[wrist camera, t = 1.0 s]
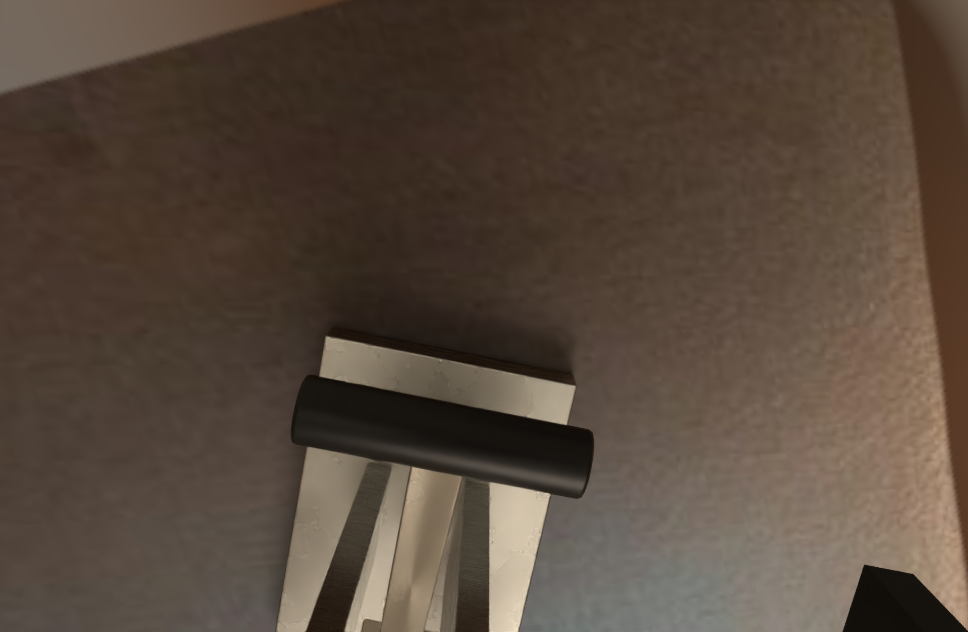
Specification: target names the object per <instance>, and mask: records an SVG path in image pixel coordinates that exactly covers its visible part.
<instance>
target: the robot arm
mask: <svg viewBox="0 0 968 632" xmlns="http://www.w3.org/2000/svg"><path fill="white" fill-rule="evenodd" d="M843 632H968V631H967V630H966V629H965V628H964V627H963V625H962V624H961V623H960V622H959V621H958V620H957V619H956V618H955V617H954V616H953V615H952V614H951V613H950V612H949V611H948V610H947V609H946V608H945V607H944V606H943V605H942V604H941V603H940V601H939V600H938V599H937V598H936V597H935V596H934V595H933V594H932V593H931V592H930V591H929V590H928V589H927V588H926V587H925V586H924V585H923V584H922V583H921V582H920V581H919V580H918V579H917V578H916V576H915V575H914V574H910V573H905V572H900V571H894V570H889V569H884V568H879V567H874V566H868V565H864V567H863V570H862V573H861V576H860V580H859V583H858V586H857V589H856V592H855V595H854V598H853V601H852V604H851V607H850V611H849V614H848V617H847V620H846V623H845V626H844V629H843Z"/></svg>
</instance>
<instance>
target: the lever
mask: <svg viewBox="0 0 968 632" xmlns="http://www.w3.org/2000/svg"><path fill="white" fill-rule="evenodd" d="M291 439H292V442H293V443H294V444H296V445H301V446H306V447H311V448H317V449H322V450H327V451H332V452H337V453H342V454H348V455H353V456H358V457H363V458H368V459H373V460H378V461H384V462H389V463H394V464H399V465H404V466H409V467H410V471H409V476H408V482H407V487H406V492H405V498H404V503H403V509H402V514H401V519H400V525H399V530H398V535H397V541H396V546H395V551H394V557H393V562H392V568H391V573H390V578H389V584H388V589H387V594H386V600H385V605H384V611H383V616H382V621H381V622H380V621H375V620H370V619H364V620H363V624H362V629H361V632H434V631H428V630H424V629H425V625H426V621H427V617H428V614H429V610H430V606H431V602H432V598H433V594H434V590H435V586H436V582H437V578H438V574H439V570H440V566H441V562H442V558H443V554H444V550H445V546H446V542H447V538H448V534H449V530H450V526H451V522H452V518H453V514H454V510H455V506H456V502H457V498H458V494H459V490H460V486H461V482H462V478H463V477H466V478H471V479H476V480H482V481H487V482H492V483H497V484H502V485H507V486H512V487H518V488H523V489H528V490H533V491H538V492H543V493H549V494H554V495H559V496H564V497H569V498H574V499H578V498H581V497H582V495H583V494H584V492H585V490H586V487H587V484H588V481H589V477H590V473H591V468H592V462H593V454H594V438H593V433H592V432H591V431H590V430H589V429H584V428H579V427H574V426H569V425H564V424H559V423H554V422H549V421H543V420H538V419H533V418H528V417H523V416H518V415H513V414H508V413H503V412H498V411H493V410H488V409H483V408H477V407H472V406H467V405H462V404H457V403H452V402H447V401H442V400H437V399H432V398H427V397H422V396H417V395H411V394H406V393H401V392H396V391H391V390H386V389H381V388H376V387H371V386H366V385H361V384H356V383H351V382H345V381H340V380H335V379H330V378H325V377H320V376H315V375H308V376H306V377H305V379H304V381H303V382H302V385H301V387H300V390H299V393H298V396H297V400H296V404H295V408H294V413H293V418H292V425H291Z"/></svg>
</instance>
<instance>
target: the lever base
mask: <svg viewBox="0 0 968 632" xmlns="http://www.w3.org/2000/svg"><path fill="white" fill-rule="evenodd" d="M318 376H320V377H325V378H330V379H335V380H340V381H345V382H351V383H356V384H361V385H366V386H371V387H376V388H381V389H386V390H391V391H396V392H401V393H406V394H411V395H417V396H422V397H427V398H432V399H437V400H442V401H447V402H452V403H457V404H462V405H467V406H472V407H477V408H483V409H488V410H493V411H498V412H503V413H508V414H513V415H518V416H523V417H528V418H533V419H538V420H543V421H549V422H554V423H559V424H564V425H568V422H569V418H570V414H571V410H572V405H573V401H574V397H575V393H576V388H577V385H576V382H575V379H574V376H573V375H570V374H565V373H560V372H555V371H550V370H545V369H540V368H535V367H530V366H525V365H520V364H515V363H510V362H505V361H500V360H495V359H490V358H485V357H480V356H475V355H470V354H465V353H460V352H455V351H450V350H445V349H440V348H435V347H430V346H425V345H420V344H415V343H410V342H405V341H400V340H395V339H389V338H384V337H379V336H374V335H369V334H364V333H359V332H354V331H349V330H344V329H339V328H334V327H333V328H331V330H330V331H329V332H328V333H327V335H326V336H325V340H324V346H323V351H322V357H321V363H320V369H319V375H318ZM409 471H410V467H409V466H404V465H399V464H394V463H389V462H384V461H378V460H373V459H368V458H363V457H358V456H353V455H348V454H342V453H337V452H332V451H327V450H322V449H317V448H311V447H306V452H305V458H304V464H303V470H302V476H301V482H300V487H299V493H298V499H297V505H296V511H295V517H294V523H293V529H292V535H291V541H290V547H289V552H288V558H287V564H286V570H285V576H284V582H283V588H282V594H281V600H280V606H279V612H278V617H277V623H276V629H275V632H361V629H362V624H363V620H364V619H370V620H375V621H380V622H381V621H382V616H383V611H384V605H385V600H386V594H387V589H388V584H389V578H390V573H391V568H392V562H393V557H394V551H395V546H396V541H397V535H398V530H399V525H400V519H401V514H402V509H403V503H404V498H405V492H406V487H407V482H408V476H409ZM550 498H551V494H549V493H543V492H538V491H533V490H528V489H523V488H518V487H512V486H507V485H502V484H497V483H492V482H487V481H482V480H476V479H471V478H466V477H463V478H462V482H461V486H460V490H459V494H458V498H457V502H456V506H455V510H454V514H453V518H452V522H451V526H450V530H449V534H448V538H447V542H446V546H445V550H444V554H443V558H442V562H441V566H440V570H439V574H438V578H437V582H436V586H435V590H434V594H433V598H432V602H431V606H430V610H429V614H428V617H427V621H426V625H425V629H424V630H428V631H434V632H519V629H520V625H521V621H522V617H523V612H524V608H525V604H526V600H527V596H528V591H529V587H530V583H531V579H532V574H533V570H534V566H535V562H536V557H537V553H538V549H539V545H540V541H541V536H542V532H543V528H544V524H545V519H546V515H547V511H548V507H549V503H550Z"/></svg>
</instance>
